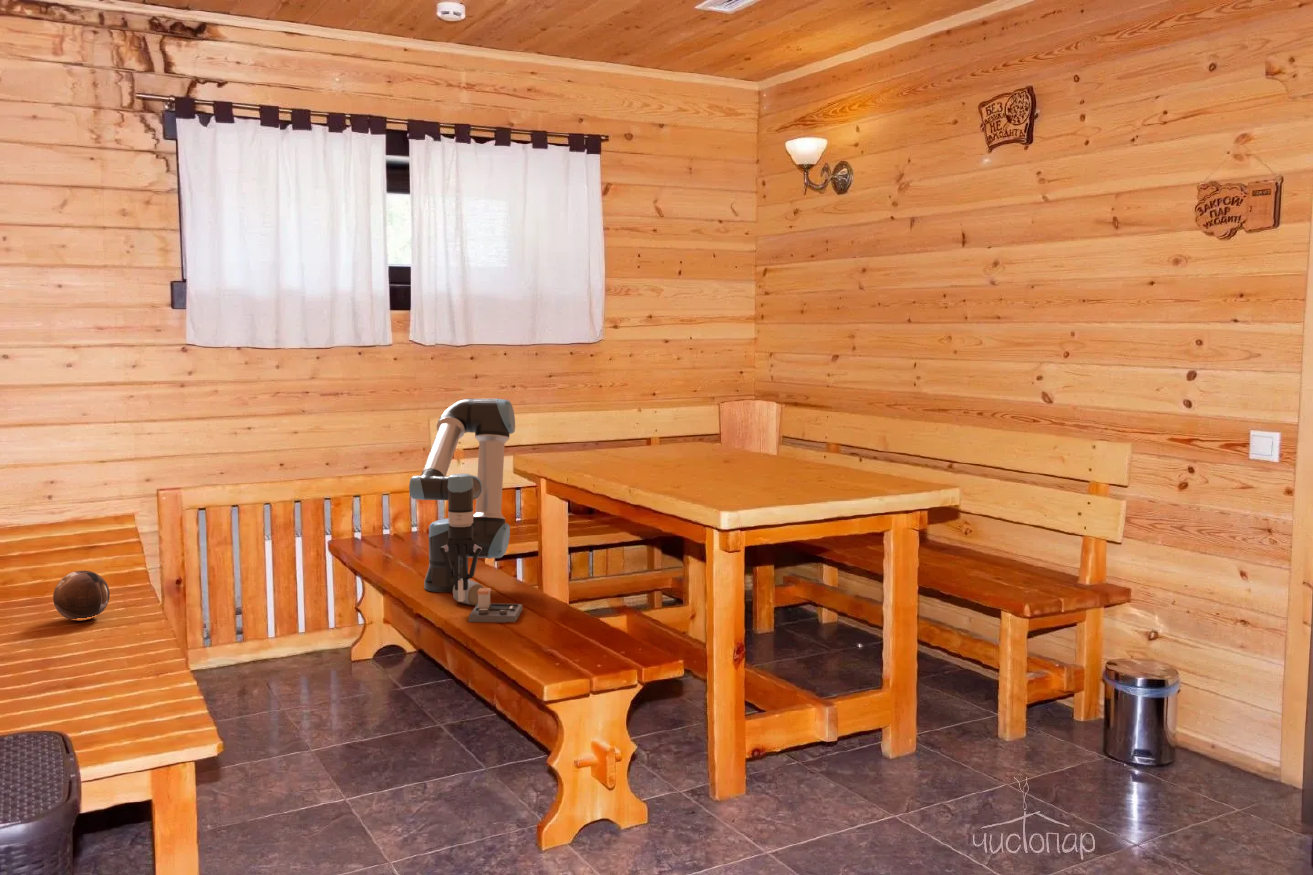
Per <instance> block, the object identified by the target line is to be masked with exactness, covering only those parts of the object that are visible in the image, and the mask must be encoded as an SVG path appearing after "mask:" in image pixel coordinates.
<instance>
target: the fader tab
mask: <svg viewBox="0 0 1313 875" xmlns="http://www.w3.org/2000/svg"><path fill="white" fill-rule="evenodd" d="M491 592H492V588H491V587H484V588H480V589H479V590H478V591H477V594H478V608H489V606H490V603H491Z"/></svg>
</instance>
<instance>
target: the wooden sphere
mask: <svg viewBox="0 0 1313 875" xmlns="http://www.w3.org/2000/svg"><path fill="white" fill-rule="evenodd" d="M110 594H111V592H110V588H109V585H108V583H107V581H106V580H105V579H104V578H103V577H102V576H101V575H100V574H98V573H96V572H94V571H91V570H78V571H77V570H76V571H73V572H70V573H68V574H66V575H65V576H64V577H62V578H61V579H60V580H59V582H58V583H57V584H56V585H55V587H54V590H53V594H52V596H53V600H52V601H53V604H54V607H55V609H56V610H57V612H58V613H59V614H60V615H61V616H62V617H63V618H65V619H67V618H69V619H77V618H87V617H92V616H95V615H98V614H99V615H101V614H102V613H103V612H104V610H105V609H106V608H107V607H108V604H109V601H110ZM100 613H101V614H100ZM99 615H98V616H99ZM69 619H68V620H69Z"/></svg>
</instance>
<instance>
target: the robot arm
mask: <svg viewBox="0 0 1313 875" xmlns="http://www.w3.org/2000/svg"><path fill="white" fill-rule="evenodd" d="M515 431H516V418H515V411H514V407H513V405H512V402H511V401H510V400H508V399H503V398H470V397H469V398H463V399H460V400H458V401H455V402H454V403H452V404H451V405H449V407H447V408H446V409H445V410H444V411H443V412H442V413H441V415H440V416H439V418H438V420H437V423H436V434H435V437H434V440H433V442H432V445H431V448H430V450H429V453H428V456H427V458H426V460H425V463H424V466H423V468H422V471H421V474H420V475H413V476H412V477H410V479H409V484H408V485H409V486H408V489H409V495H410V498H411V499H414V500H422V501H447V502H448V503H447V506H448V512H447V513H448V517H447V518H443V519H442V518H441V519H438V520H434V521H433V522H431V523H430V524H429V526H428V536H427V537H428V559H429V562H428V563H429V564H428V568H427V571H426V575H425V577H424V581H423V586H424V587H423V588H424V590H425V591H429V592H434V593H453V587H454V585H455V590H458V601H461V602H463V601H464V600H465V590H467V589H468V580H471V579H473V577H474V576H475V573H476V568H477V563H478V560H479V559H490V560H491V559H501V558H502V557H503V556H504V555H505V554H506V552H507V550H508V546H509V542H510V537H511V531H510V530H511V527H510V524H509V523H507V522H506V517H505V516H504V515H503V514H502V504H503V503H502V502H503V486H504V485H503V481H504V479H503V478H504V466H505V465H504V461H505V444H506V443H507V442H508V441H509V440H510V434H514V433H515ZM466 433H471V434H472V433H474V438H475V439H476V440H477V441H478V459H477V475H472V474H469V473H453V474H451V475H449V476H447V473H448V470H449V468H450V464H451V463H452V460H453V457H454V454H455V451H456V448H457V445H458V443H459V440H460V439H462V438H463V437H464V434H466ZM474 500H475V510H474ZM469 558H472V560H471V564H470V569H469ZM462 578H463V579H462ZM458 601H457V602H458ZM461 602H460V603H461Z"/></svg>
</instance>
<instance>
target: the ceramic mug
mask: <svg viewBox="0 0 1313 875" xmlns="http://www.w3.org/2000/svg"><path fill="white" fill-rule="evenodd" d="M462 579H463V578H462ZM480 588H485V587H484V586H483V585H482V584H480V583H478V582H475V581H473V580H472V579H469V580H468V589H467V590H465V600H464V601H463V602H461V601H458V590H455V585H454V587H453V592H452V595H453V599H454V600H455V601H456V602H458V603H461V604H466V605H469V606H476V605H477V604H478V594H477V591H478V590H479V589H480Z"/></svg>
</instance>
